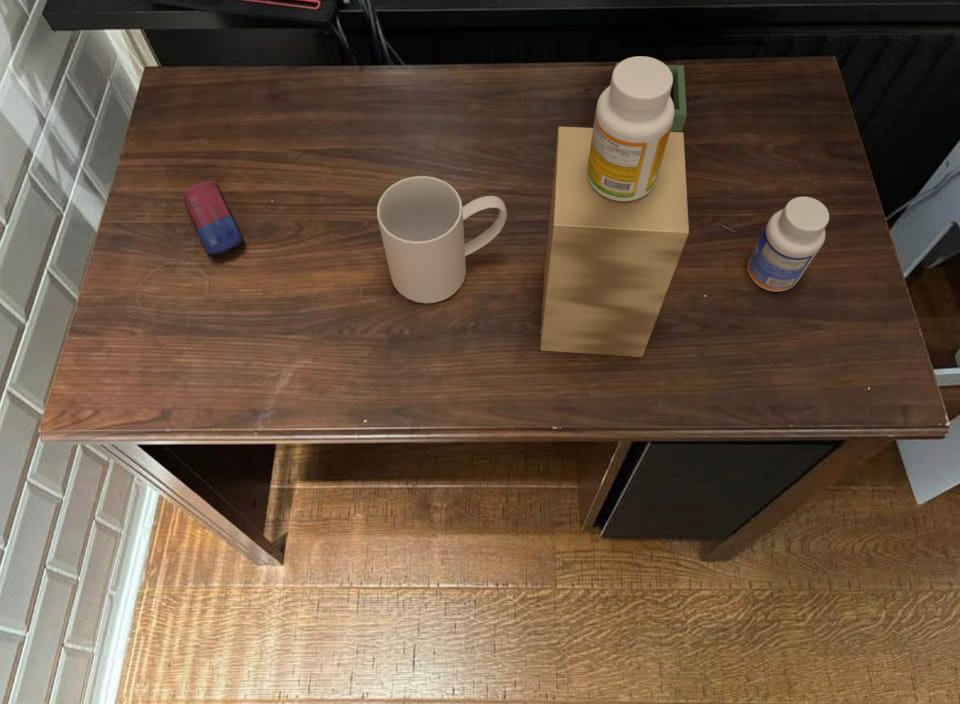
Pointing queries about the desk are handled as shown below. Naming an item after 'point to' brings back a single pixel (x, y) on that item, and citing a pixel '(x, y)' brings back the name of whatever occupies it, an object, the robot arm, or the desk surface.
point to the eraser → (213, 219)
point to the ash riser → (609, 253)
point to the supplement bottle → (631, 129)
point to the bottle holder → (678, 96)
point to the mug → (430, 236)
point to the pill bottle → (788, 244)
